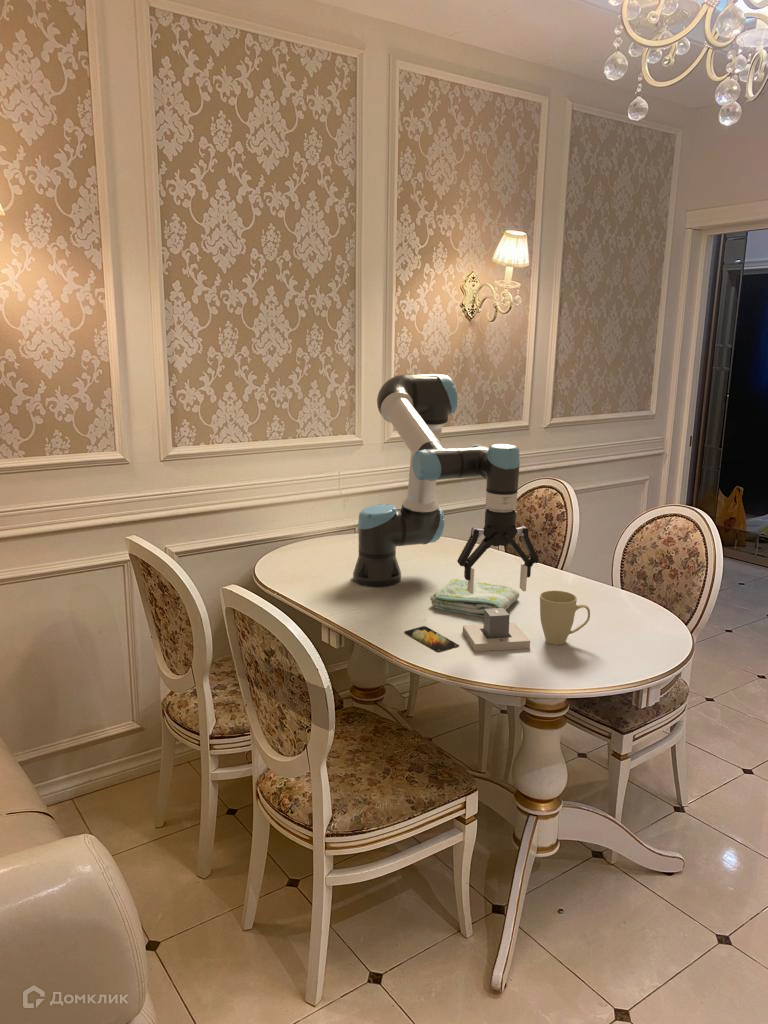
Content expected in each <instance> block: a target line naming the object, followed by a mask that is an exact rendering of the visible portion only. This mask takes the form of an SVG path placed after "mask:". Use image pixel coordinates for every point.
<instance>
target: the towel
mask: <svg viewBox="0 0 768 1024" xmlns="http://www.w3.org/2000/svg"><path fill="white" fill-rule="evenodd" d="M467 589H468V580H466V579H460V578H452V579H450V580H449V581H448V582H447V583H445V584H444V585H443V586H442V587H441V588H439V589H438V590H437V591H435V592H434V593H433V594H431V596H430V597H429V598H430V601H431V605H433V606H434V609H436V610H437V609H438V610H441V611H447V612H453V613H460V614H464V615H467V616H468V615H469V616H473V617H474V616H475V617H479V616H480V618H484V609H492V608H504V609H505V610H506V611H507V609H509V607H511V605H513V603H515V602H516V601H518V599H519V597H520V593H519V591H518V590H516V589H514V588H512V587H510V586H505V585H501V584H491V583H487V582H482V581H481V582H480V581H475V580H474V587H473V594H470V593H469V591H468V590H467Z"/></svg>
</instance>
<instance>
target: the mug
mask: <svg viewBox="0 0 768 1024" xmlns="http://www.w3.org/2000/svg"><path fill="white" fill-rule="evenodd" d="M577 601H578V597H577V595H575V594H573V593H571V592H569V591H564V590H563V591H562V590H547V591H546V590H545V591H543V592H541V593H540V594H539V611H540V612H539V614H540V624H541V628H542V631H543V635H544V639H545V642H546V643H547V644H549V645H554V646H562V645H565V644H566V641H567V640H568V637H569V635H571V634H574V633H576V632H577V631H579V630H581V629H582V628H583V627H585V626H586V625H587V624H588V623H589V621H590V618H591V611H590V610H591V609H590V608H589V606H588V605H587V604H577ZM581 608H585V610H587V617H586V618H587V619H586V620H585V621H583V623H582V624H580V625H579V626H577V627H575V628H574V629H573V630H572V627H573V625H574V621H575V615H576V611H578V610H579V609H581Z"/></svg>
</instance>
